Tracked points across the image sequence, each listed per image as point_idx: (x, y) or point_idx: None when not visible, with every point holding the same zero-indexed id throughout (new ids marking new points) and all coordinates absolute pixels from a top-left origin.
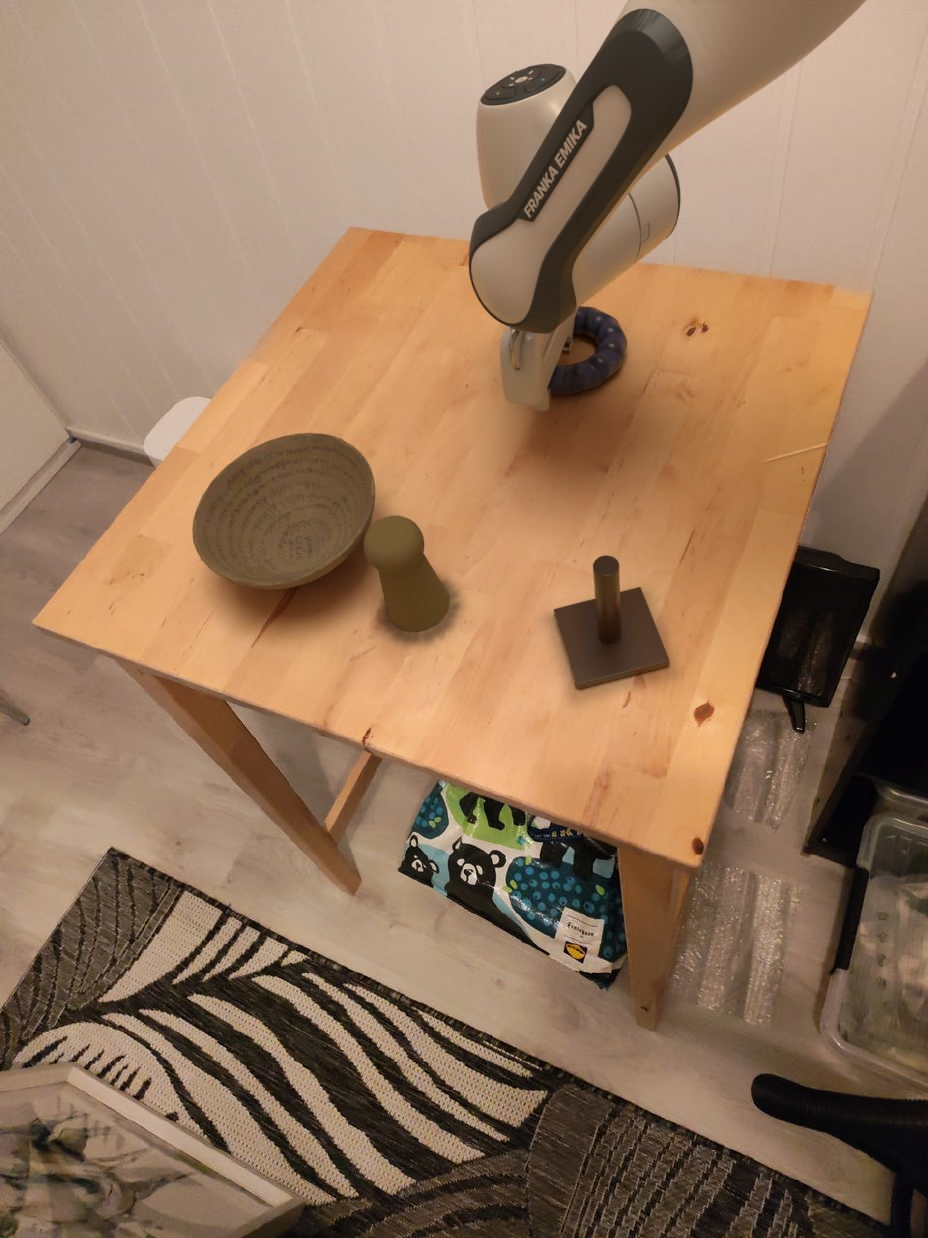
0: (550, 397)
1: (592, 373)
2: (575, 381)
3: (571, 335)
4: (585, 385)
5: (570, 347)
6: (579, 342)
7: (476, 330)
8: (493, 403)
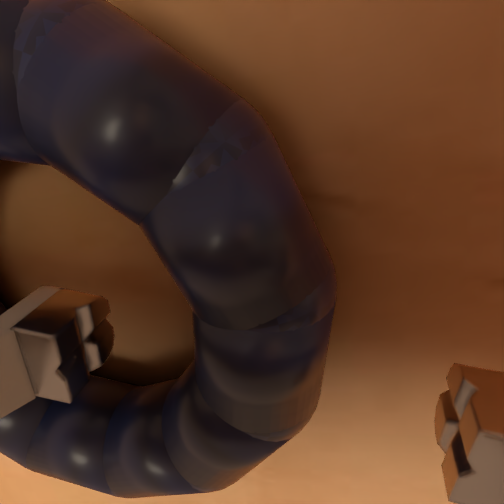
0: (494, 395)
1: (236, 160)
2: (301, 252)
3: (3, 331)
4: (295, 185)
5: (70, 305)
6: (7, 235)
7: (68, 487)
8: (351, 475)
